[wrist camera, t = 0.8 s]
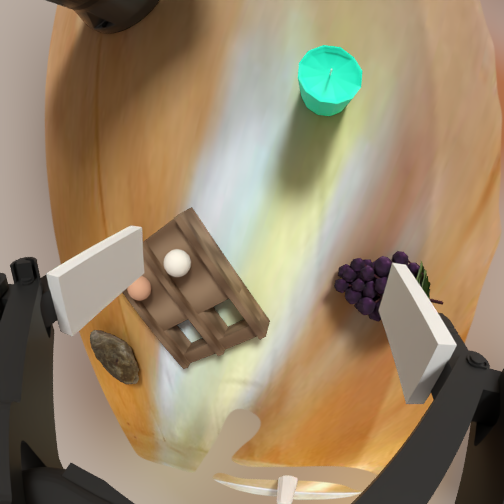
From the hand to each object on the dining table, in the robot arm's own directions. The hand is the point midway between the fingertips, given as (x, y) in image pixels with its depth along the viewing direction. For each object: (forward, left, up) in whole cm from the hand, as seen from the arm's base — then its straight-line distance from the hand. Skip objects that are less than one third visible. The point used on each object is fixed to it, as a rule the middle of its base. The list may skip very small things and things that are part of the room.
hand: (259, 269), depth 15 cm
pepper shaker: (+61, -35, -25) cm, 75 cm away
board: (+4, -20, -24) cm, 32 cm away
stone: (+8, -43, -25) cm, 50 cm away
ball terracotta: (-1, -24, -19) cm, 31 cm away
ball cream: (-1, -16, -19) cm, 25 cm away
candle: (-9, +11, -25) cm, 28 cm away
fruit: (+16, +6, -25) cm, 30 cm away
